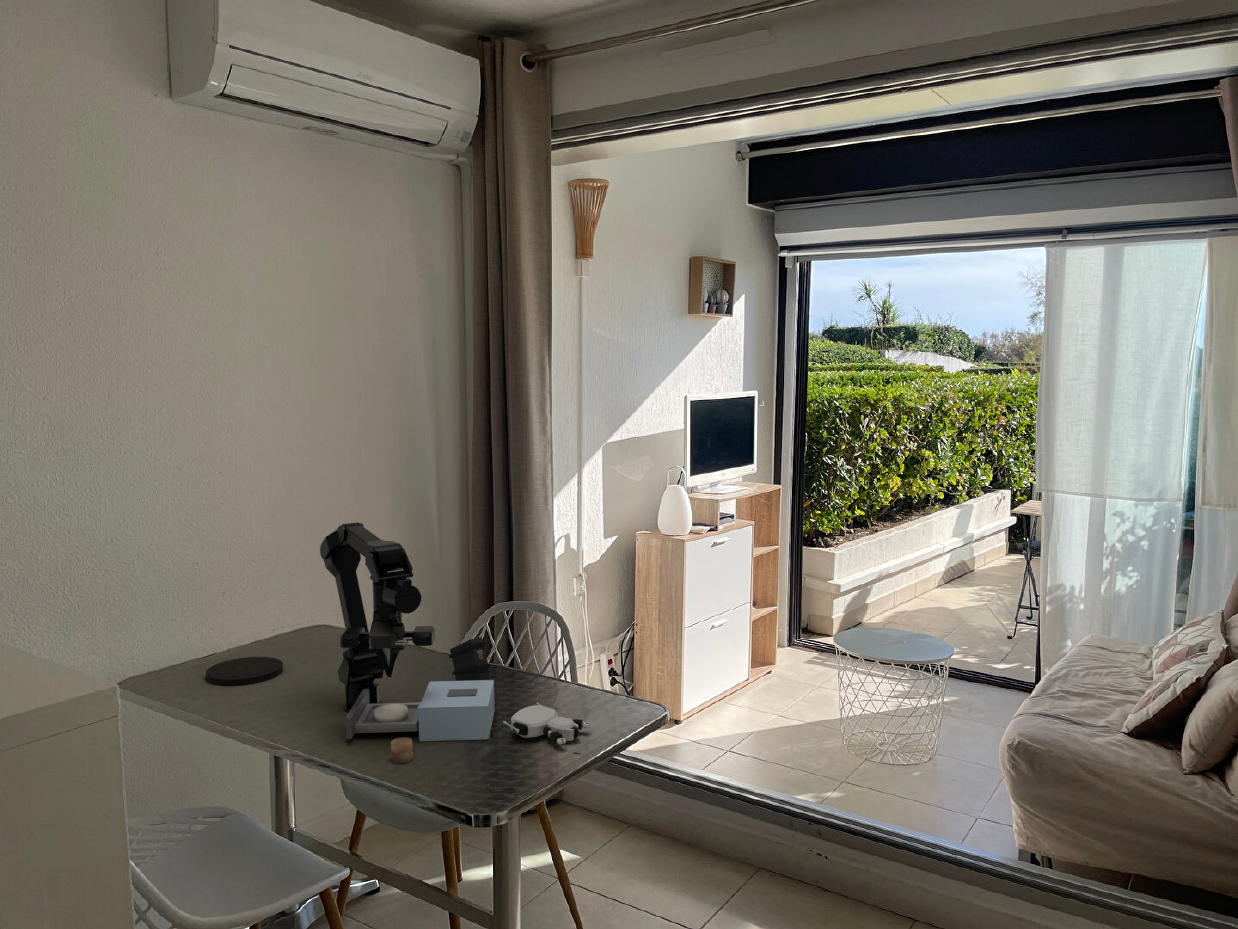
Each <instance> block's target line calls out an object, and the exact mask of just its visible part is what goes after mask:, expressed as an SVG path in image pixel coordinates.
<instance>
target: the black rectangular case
mask: <svg viewBox="0 0 1238 929" xmlns="http://www.w3.org/2000/svg"><path fill="white" fill-rule="evenodd" d="M486 645H487V643H486V641H485V640H484V641H483V638H482V636H478V637H476V638H474V637H473V638H470V639H469V640H466V641H464V642H462V643H460V644H458V645H456V646H453V647H452V648H450V649H449V652H450V654H449V655H448V658H449V659H451V660H452V661H451V662H452V664H453V670H454V671H452V676H454V677H455V681H474V680H491V676H490V670H489V669H491V668H492V666H491V663H490V662H489V663H488V659H487V658H488V657H487V652H486V649H485V646H486Z"/></svg>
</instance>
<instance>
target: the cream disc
mask: <svg viewBox="0 0 1238 929" xmlns="http://www.w3.org/2000/svg"><path fill="white" fill-rule="evenodd" d="M407 717H408V707H407V706H405V705H401V704H389V705H383V706H380V707H378V708H376V709H375V710H374V720H375V721H376V722H379V723H384V722H400V721H403V720H405V719H406V718H407Z"/></svg>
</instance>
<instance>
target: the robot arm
mask: <svg viewBox="0 0 1238 929" xmlns="http://www.w3.org/2000/svg"><path fill="white" fill-rule="evenodd" d="M319 553H320V554H319V555H320V557H321V559H322V560H323V563H324V566H325V569H326V570H327V571H328V573H330V574H331V575H332V576H333V577H334V578H335V583H336V588H337V594H338V598H339V603H340V607H341V612H342V617H343V623H344V627H345V630H344V632H343V633H342V634H341V635H340V638H339V639H340V640H339V641H340V642H339V644H340V648H342V649H343V651H342V657H343V659H342V662H341V664H340V666H339V668H338V669H337V676H338V681H339V682H341V683H342V684H343V685H345V686H344V687H345V707H344V708H343V711H344V712H349V711H350V710H351V708H352V706H353V705H354V703H355V702H356V700H357V699H358V697H359V695H360V694H361V692H362V691H363V689H369V702H370V704H379V702H380V684H379V683H378V682H377V679H383V677H384V672H385V675H386V677H387V678H392V677H393V674H394V671H395V667H396V663H397V661H398V658H399V655H400V652H401V651H404V650H405V649H406V648H407V646H408V644H409V642H411V641H412V644H413V645H414V646H416V647H429V646H433V645H434V643H435V639H436V629H435V628H434V626H433V625H421V626H418V625H416V626H415V628H414V629H413V631H412V630H411V631H407V630H406V627H405V624H404V622H403V614H411V613H414V612H415V611H416V610H417V609H418V608H419V607H420V605H421V602H422V595H421V592H420V590H419V588H417V587H416V586H414V585H413V584H412V581H413V580H412V579H411V578H413V577H414V574H413V568H414V567H413V566H412V563H411V561H410V559H409V557H408V554H407V552H406V550H405V548H404V547H403V545H402V544H401V543H400V542H396V541H394V540H383V539H381V538H379V536H377V535H376V534H374V533H373V532H371V531H370V530H368V528H366V527H365V526H364V524H363V523H362V522H357V521H356V522H350V523H349V522H348V523H342V524H340V525H339V526H338V527H337V529H336V530H334V531H333V532H331V533H330V534H328V535H326V536H325V537H324V539H323V541H322V542H321V543H320V546H319ZM361 556H362V557H364V558H365V560H364V562H365V563H364V564H365V566H366V568H367V570H368V571H369V573H370V576H369V579H370V580H371V581H372V604H373V605H372V606H373V607H372V610H373V611H372V621H371V624H370V629H369V625H368V622H367V617H366V612H365V608H364V603H363V598H362V594H361V589H360V584H359V578H358V574H357V573H358V572H357V571H358V567H359V565H360V562H361V560H362V557H361Z"/></svg>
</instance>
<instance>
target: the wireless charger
mask: <svg viewBox="0 0 1238 929" xmlns="http://www.w3.org/2000/svg"><path fill="white" fill-rule="evenodd" d="M283 672H284V664H283V661H282V660H280V659H278V658H276V657H269V656H247V657H239V658H234V659H229V660H225V661H222V662H219V663H216V664H214V665H212V666H210V667H209V668H207V669H206V671H205V680H206V682H207V683H208V684H211V685H214V686H219V687H242V686H249V685H255V684H261V683H263V682H264V683H265V682H266V681H270V680H273V679H275V678H277V677H279V676H281V674H283Z"/></svg>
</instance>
